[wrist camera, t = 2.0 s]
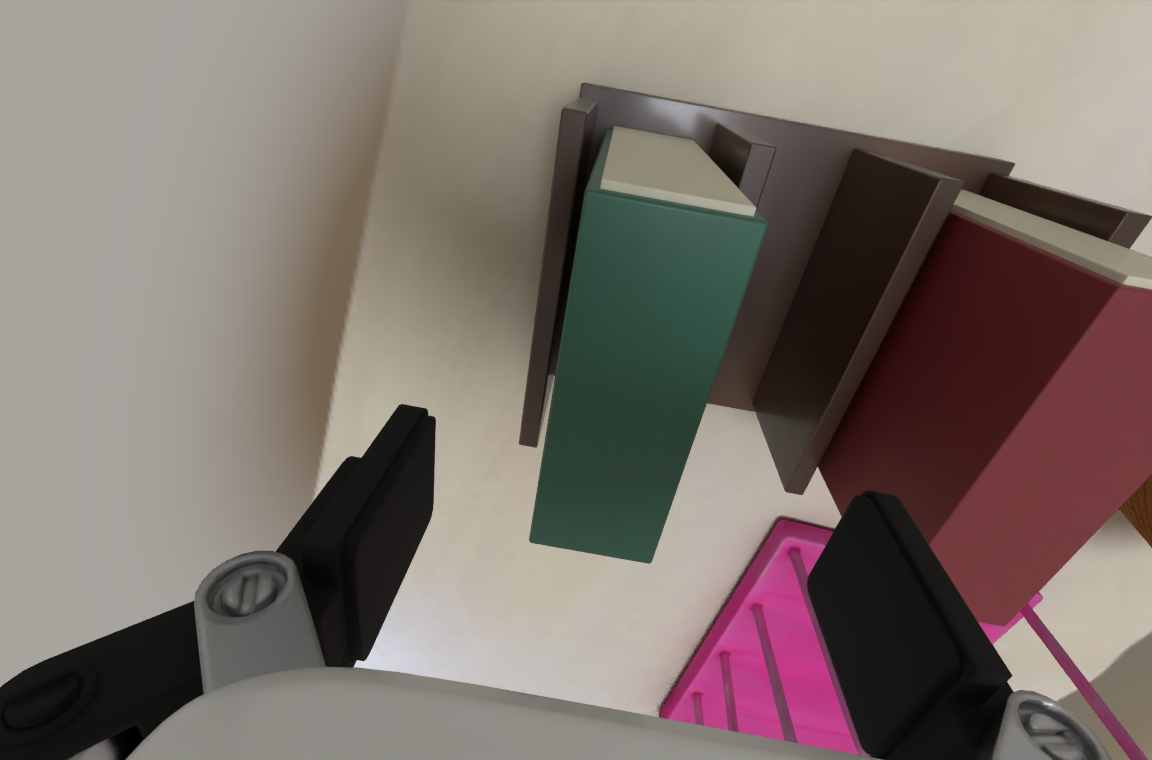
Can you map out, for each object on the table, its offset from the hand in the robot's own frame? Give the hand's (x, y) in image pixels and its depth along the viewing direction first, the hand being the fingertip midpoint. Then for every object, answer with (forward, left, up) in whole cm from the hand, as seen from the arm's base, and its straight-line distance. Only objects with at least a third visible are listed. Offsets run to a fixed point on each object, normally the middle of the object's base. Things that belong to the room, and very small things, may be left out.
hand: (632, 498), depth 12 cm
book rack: (+6, 0, -17) cm, 18 cm away
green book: (0, 0, -16) cm, 16 cm away
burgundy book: (+11, 0, -16) cm, 19 cm away
